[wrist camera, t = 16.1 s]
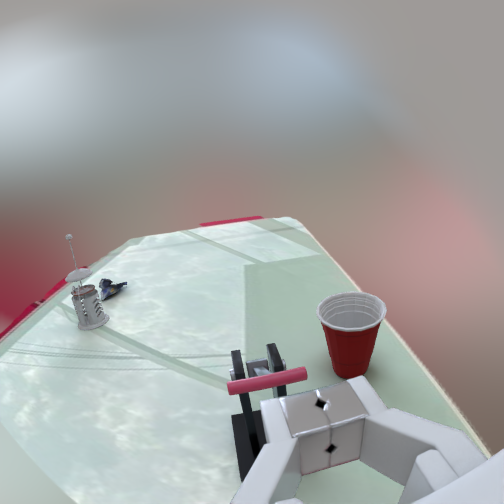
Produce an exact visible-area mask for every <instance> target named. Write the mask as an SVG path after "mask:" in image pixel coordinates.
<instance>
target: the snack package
mask: <svg viewBox="0 0 504 504" xmlns="http://www.w3.org/2000/svg"><path fill="white" fill-rule="evenodd" d="M111 283H113V282H112V281H111V280H109V279H101V281H100V283H99V287H100V288H102V291H101V300H103V301H104V299H105V298H106V297H108V296H110V295H112V294H114V293H116V292H118V291H119V290H120V289H121V287H123V285H127V282H123V283H120V284H116V285H112V284H111ZM110 284H111V285H110Z"/></svg>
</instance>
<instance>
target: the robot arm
mask: <svg viewBox="0 0 504 504" xmlns="http://www.w3.org/2000/svg"><path fill="white" fill-rule="evenodd" d="M260 408H261V414H262V420H263V425H264V431H265V436H266V441H267V444H264V446H263V448H262V450H261V451H260V453H259V455H258V457H257V458H256V460H255V462H254V464H253V465H252V467H251V469H250V471H249V472H248V474H247V476H246V477H245V479H244V481H243V483H242V484H241V486H240V488H239V489H238V491H237V493H236V494H235V496H234V497H233V499H232V501H231V502H230V504H303V502H302V500H299V499H296V498H294V496H295V494H296V491H297V488H298V486H299V483H300V480H301V476H303V475H307V474H310V473H314V472H317V471H320V470H324V469H327V468H330V467H334V466H337V465H341V464H344V463H348V462H351V461H354V460H358V459H360V461H362V462H363V463H365V464H366V465H368V466H370V467H372V468H373V469H375V470H377V471H378V472H380V473H382V474H383V475H385V476H387V477H389V478H390V479H392V480H394V481H396V482H398V483H399V484H401V485H403V486H405V488H404V490H403V493H402V495H401V497H400V500H399V502H398V504H504V449H502V450H501V451H499V452H498V453H497V454H495V455H494V456H492V457H491V458H489V459H487V457H486V456H485V455H484V454H483V453H482V452H481V451H480V449H479V448H478V447H477V446H476V445H475V444H474V442H473V441H472V440H471V439H470V438H469V437H468V436H467V434H466V433H465V432H464V431H462V430H459V429H455V428H452V427H449V426H446V425H443V424H439V423H436V422H433V421H430V420H427V419H424V418H421V417H418V416H416V415H413V414H410V413H407V412H404V411H401V410H399V409H396V408H390V409H388V408H387V406H386V405H385V404H384V402H383V401H382V400H381V398H380V397H379V395H378V394H377V393H376V391H375V390H374V389H373V387H372V386H371V385H370V383H369V382H368V381H367V379H366V378H365V377H364V376H362V375H361V376H358V377H355V378H352V379H349V380H346V381H343V382H339V383H336V384H332V385H329V386H325V387H322V388H318V389H314V390H310V391H306V392H301V393H297V394H292V395H287V396H282V397H278V398H273V399H268V400H262V401H260Z"/></svg>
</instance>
